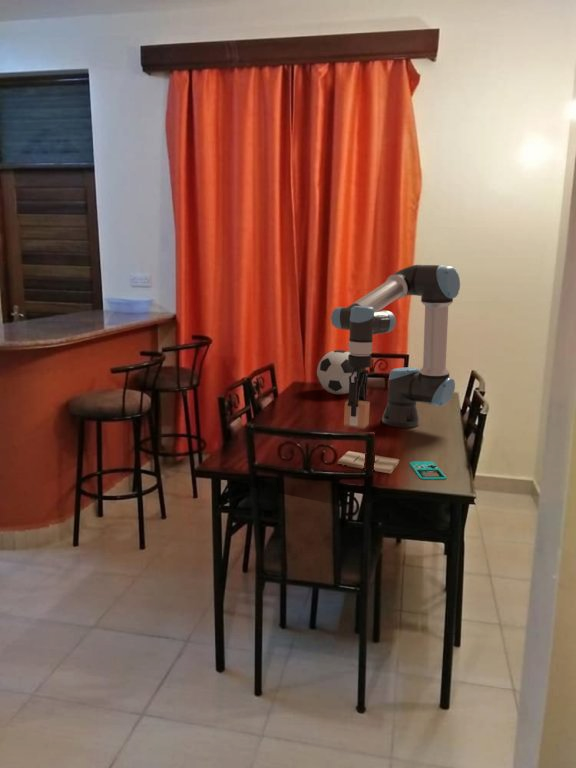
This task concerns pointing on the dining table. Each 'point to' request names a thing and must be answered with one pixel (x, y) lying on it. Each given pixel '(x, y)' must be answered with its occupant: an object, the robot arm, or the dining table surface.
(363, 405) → the block
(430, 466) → the handheld gaming console
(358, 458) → the board
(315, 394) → the dining table surface
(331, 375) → the soccer ball
